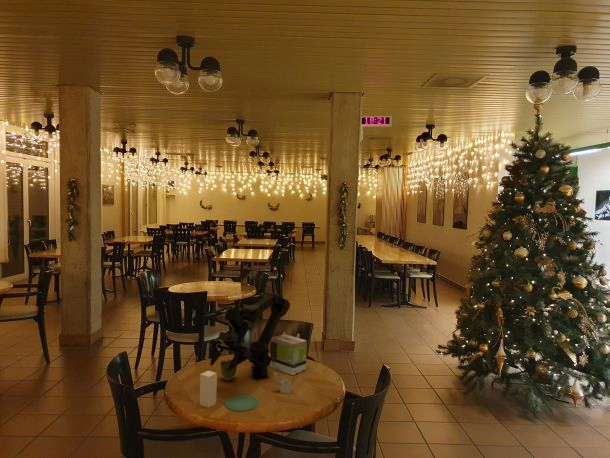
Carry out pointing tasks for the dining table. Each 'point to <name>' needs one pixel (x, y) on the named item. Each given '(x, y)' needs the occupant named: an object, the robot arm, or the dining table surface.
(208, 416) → the dining table surface
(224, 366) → the dark grey rounded piece
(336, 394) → the dining table surface
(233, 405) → the green mat
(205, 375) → the cream block
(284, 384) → the lighter
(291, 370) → the tea box
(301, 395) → the dining table surface
